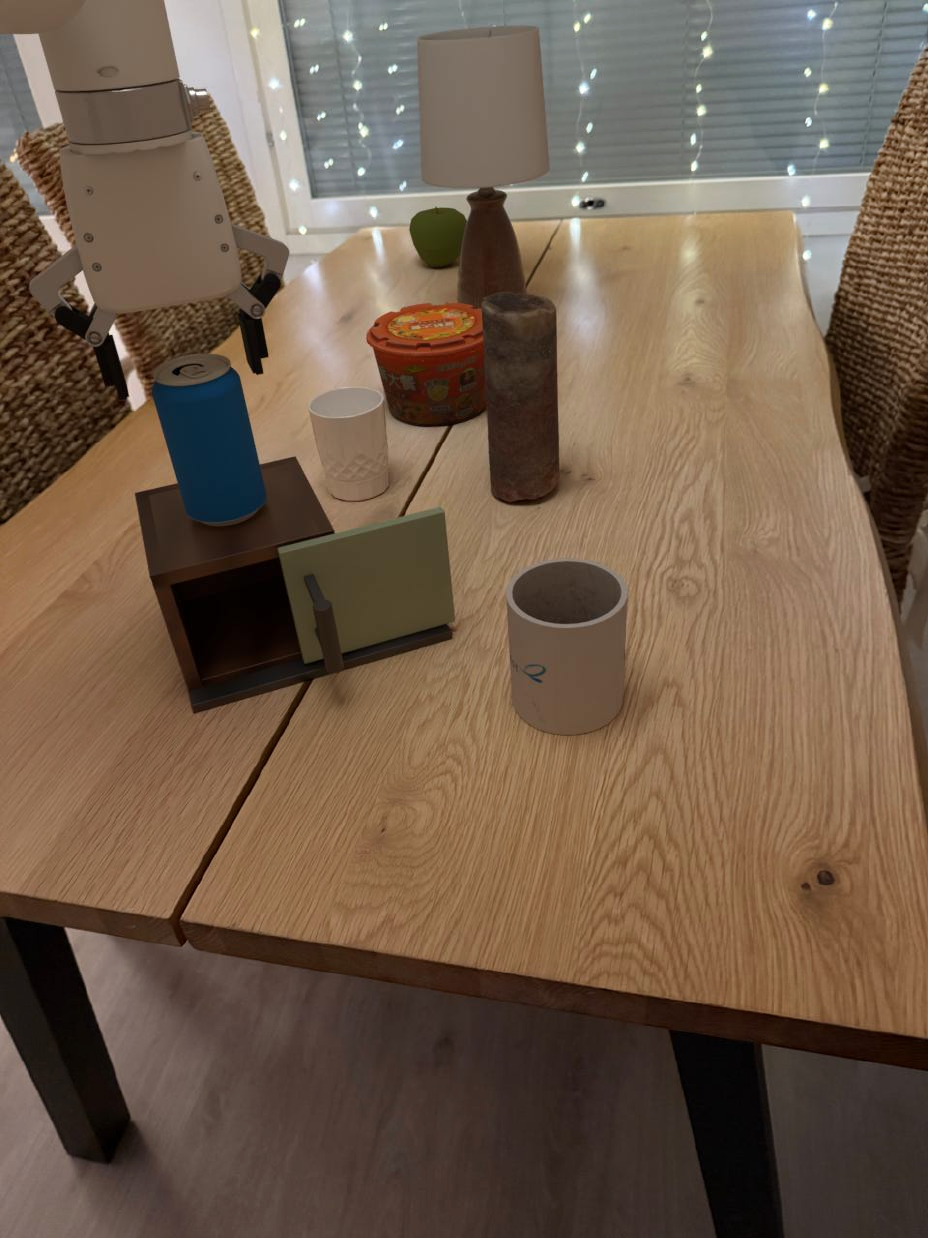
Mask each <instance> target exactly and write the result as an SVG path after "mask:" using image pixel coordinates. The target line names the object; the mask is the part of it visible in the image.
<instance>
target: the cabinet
mask: <svg viewBox="0 0 928 1238" xmlns="http://www.w3.org/2000/svg"><path fill="white" fill-rule="evenodd" d="M260 468H261V472H262V477H263V481H264V485H265V490H266V494H267V498H266V501H265V503H264V504H263V505H262V507H260V508H259V509H258V511H257V512H256V513H255V514H254V515H253V516H252V517H250V518H249V519H247V520H245V521H243V522H240V523H237V524H233V525H228V526H210V525H206V524H204V523H202V522H199V521H196V520H194V519H192V518H191V517H189V516H188V514H187V513H186V510H185V507H184V503H183V500H182V496H181V493H180V489H179V486H178V482H177V483H173V484H167V485H163V486H158V487H154V488H150V489H146V490H141V491H137V492H134V498H135V504H136V509H137V515H138V521H139V527H140V530H141V536H142V542H143V546H144V553H145V559H146V564H147V570H148V576H149V578H150V583H151V585H152V587H153V591H154V594H155V596H156V600H157V602H158V606H159V609H160V611H161V615H162V618H163V621H164V623H165V626H166V630H167V633H168V635H169V639H170V642H171V644H172V647H173V650H174V653H175V656H176V660H177V663H178V665H179V668H180V671H181V674H182V678H183V681H184V684H185V687H186V690H187V693H188V698H189V702H190V703H189V704H190V707H191V710H192V713H193V714H196V713H199V712H202V711H206V710H209V709H212V708H217V707H219V706H223V705H227V704H230V703H233V702H237V701H240V700H244V699H247V698H250V697H254V696H258V695H261V694H264V693H265V694H266V693H268V692H272V691H275V690H279V689H282V688H285V687H289V686H293V685H297V684H300V683H303V682H306V681H309V680H313V679H317V678H320V677H323V676H326V675H330V674H331V673H329V672H327V671H326V668H325V663H324V659H321V660H317V661H314V662H310V663H307V664H305V663H304V661H303V658H302V654H301V650H300V646H299V641H298V637H297V633H296V628H295V624H294V619H293V615H292V611H291V606H290V602H289V598H288V593H287V589H286V585H285V580H284V576H283V571H282V567H281V563H280V558H279V554H278V550H277V548H279V547H283V546H287V545H291V544H295V543H299V542H303V541H307V540H311V539H315V538H319V537H323V536H327V535H331V534H335V532H336V531H335V528H334V527H333V524H332V523H331V521H330V519H329V517H328V515H327V514H326V512H325V510H324V508H323V506H322V504H321V502H320V500H319V498H318V496H317V494H316V493H315V491H314V489H313V486H312V485H311V483H310V481H309V479H308V477H307V475H306V473H305V471H304V469H303V468H302V466H301V464H300V461H299V460H298V458H297V456H296V455H295V456H290V457H286V458H281V459H278V460H272V461H268V462H264V463H260ZM452 639H453V631H452V629H451V627H450V626H449V623H447V624H444V625H440V626H437V627H433V628H429V629H426V630H422V631H419V632H415V633H412V634H408V635H405V636H401V637H398V638H394V639H391V640H387V641H384V642H380V643H377V644H373V645H370V646H366V647H363V648H359V649H356V650H352V651H349V652H345V653H342V659H343V664H344V667H343V669H342V670H341V671H345V670H348V669H352V668H354V667H358V666H361V665H365V664H368V663H371V662H375V661H379V660H382V659H386V658H389V657H393V656H396V655H399V654H403V653H407V652H410V651H413V650H416V649H420V648H423V647H427V646H431V645H434V644H438V643H442V642H444V641H449V640H452Z"/></svg>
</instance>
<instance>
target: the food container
mask: <svg viewBox="0 0 928 1238" xmlns="http://www.w3.org/2000/svg"><path fill="white" fill-rule="evenodd" d="M365 337H366V338H365V339H366V344H367V345H369V346H370V347H372V350H373V353H374V358H375V361H376V366H377V369H378V373H379V377H380V382H381V384H382V388H383V394H384V397H385V400H386V403H387V408H388V410H389V411H388V412H389V413H390V414H391V415H392V416H393V417H394V418H395V419H397V420H398V421H400V422H403V423H406V424H408V425H413V426H421V427H436V426H437V427H439V426H448V425H455V424H459V423H463V422H465V421H468V420H470V419H472V418H474V417H477V416H478V415H479V414H481V413H482V412H484V411H485V410H486V409H487V403H486V382H485V364H484V342H483V327H482V309H481V308H479V309H474V308H473V306H472V305H468V304H463V303H457V302H450V301H449V302H444V304H432V303H431V302H425V303H417V304H411V305H408V306H403V307H401V308H400V310H399V311H393V310H392V311H388V312H386V313H384V314H382V315H380V316H379V317H378V318H376V319H375V320H374V322H373V325H372V326H370V328H369V329H368V330H367V332H366V335H365Z"/></svg>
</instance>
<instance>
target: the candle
mask: <svg viewBox="0 0 928 1238" xmlns="http://www.w3.org/2000/svg"><path fill="white" fill-rule="evenodd" d="M481 309H482V327H483V342H484V364H485V382H486V403H487V407H486V421H487V440H488V463H489V479H490V492H491V495H493V497H495V498H498V499H501V500H503V501H505V502H509V503H512V502H516V501H518V500H519V501H522V500H537V499H539V498H541V497H544V496H546V495H547V494H548V493H550V492H552V491H553V490H554V488H556V487H555V486H556V485H557V484H558V482H559V481H560V432H559V431H560V429H559V428H560V427H559V425H560V423H559V401H558V400H559V387H558V327H557V326H558V323H557V321H558V319H557V318H558V317H557V308H556V306H555V303H554V302H553V300H551V299H550V298H548V297H547V296H544V295H534V294H529V293H527V294H520V293H514V292H500V293H497V294H493V295H490V296H487V297H484V298H483V301H482V304H481Z"/></svg>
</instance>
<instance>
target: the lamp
mask: <svg viewBox="0 0 928 1238" xmlns="http://www.w3.org/2000/svg"><path fill="white" fill-rule="evenodd" d="M416 48H417V49H416V52H417V53H416V54H417V76H418V77H417V79H418V80H417V82H418V111H419V112H418V113H419V114H418V115H419V137H420V138H419V140H420V142H419V143H420V169H421V170H420V171H421V172H420V173H421V180H422V182H423V183H425V184H427V185H429V186H433V187H437V188H447V189H477V190H476V191H473V192H471V193H469V194H467V196H466V198H465V200H466V201H467V203H468V205H469V207H470V212H469V214H468V217H467V219H466V220H467V223H466V226H465V230H464V234H463V238H462V244H461V251H460V257H459V262H458V273H457V274H458V275H457V279H458V280H457V286H456V287H457V297H456V298H457V299H456V303H463V304H468V305H472V306H473V308H474V309H479V308H481V304H482V301H483V298H484V297H487V296H490V295H493V294H497V293H500V292H514V293H520V294H528V290H527V283H526V276H525V273H524V266H523V262H522V261H523V260H522V255H521V250H520V246H519V245H520V244H519V242H518V239H517V235H516V231H515V229H514V226H513V224H512V221H511V219H510V216H509V214H508V212H507V210H506V208H505V202H506V201H507V198H508V194H507V193H506V192H505V191H503V190H499V189H495V188H496V187H504V186H510V185H516V184H521V183H526V182H529V181H533V180H535V179H538V178H541V177H543V176H544V175H546V174H547V173H548V172H549V171H550V156H549V155H550V153H549V141H548V128H547V116H546V114H547V113H546V102H545V101H546V100H545V89H544V76H543V63H542V50H541V38H540V27H538V26H537V25H528V24H527V25H526V24H525V25H524V24H520V25H519V24H518V25H517V24H514V25H494V26H493V25H492V26H478V27H468V28H467V27H466V28H459V29H451V30H444V31H438V32H437V31H435V32H432V33H426V34H422V35H419V36H418V37H416Z"/></svg>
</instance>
